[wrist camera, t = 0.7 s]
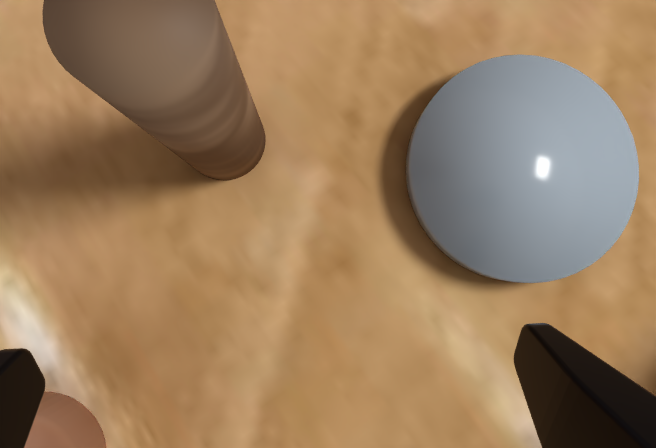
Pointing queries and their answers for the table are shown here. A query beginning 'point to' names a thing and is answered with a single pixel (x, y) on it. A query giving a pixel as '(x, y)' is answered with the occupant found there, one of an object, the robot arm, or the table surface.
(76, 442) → the short mauve cylinder
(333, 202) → the table surface
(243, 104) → the brown cylinder
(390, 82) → the table surface
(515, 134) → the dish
